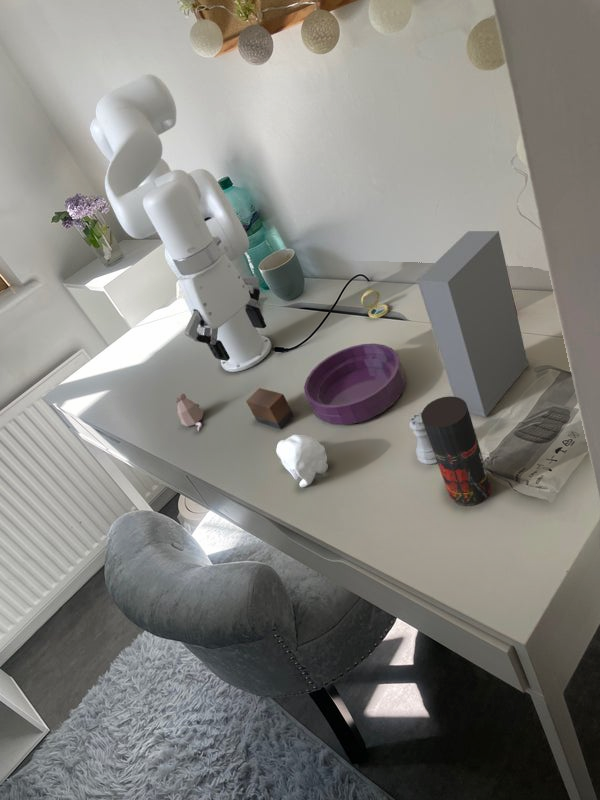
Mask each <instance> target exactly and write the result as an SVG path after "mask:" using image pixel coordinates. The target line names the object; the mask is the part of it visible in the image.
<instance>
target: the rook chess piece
mask: <svg viewBox="0 0 600 800" xmlns="http://www.w3.org/2000/svg"><path fill="white" fill-rule="evenodd" d="M421 415H422V411H417V414H416V413H412V416H410V417H409V423H408V426H409V428H410V429H411V430H413V431H412V433H413V435H414V436H415V437H416V441H417V442H416V449H415V454H416V458H417V460H418V461H419V462H420V463H422V464H425V465H434V464H438V463H437V460H436V457H435V455H434V452H433V449H432V446H431V443H430V441H429V438H428V435H427V432H426V430H425V427H424V424H423V421H422V417H421Z"/></svg>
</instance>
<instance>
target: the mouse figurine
mask: <svg viewBox="0 0 600 800" xmlns="http://www.w3.org/2000/svg"><path fill="white" fill-rule="evenodd" d="M174 402H175V403H177V417H178V418H179V420H180V422H181V425H183V426H185V427H192V426H194V425H195V426H197V432H200V429H201V428H202V427H203V425H202V423H201V421H202V419H203V417H204V411H203V409H202V408H201V407H200V403H199V404H198V403H195V402H194V401H192V400H191V399H189V398H187V395H186V394H185V393H183V392H182V393H181V394H180V395H179V396H175V397H174Z"/></svg>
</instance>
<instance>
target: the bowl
mask: <svg viewBox="0 0 600 800" xmlns="http://www.w3.org/2000/svg"><path fill="white" fill-rule="evenodd" d="M406 381H407V377H406V374H405V371H404V367H403V366H402V363H401V360H400V357H399V355H398V353H397V352H396V351H395V350H394V349H393V348H392V347H390V346H388V345H385V344H382V343H361V344H356V345H352V346H350V347H346V348H344V349H341V350H339V351H337V352H335V353H333V354H331V355H329V356H328V357H326V358H324V359H323V360H322V361H321V362H319V363H318V364H317V365H316V366H315V367H314V368H313V369H312V370H311V371H310V373H309V374H308V376H307V377H306V379H305V382H304V386H303V391H304V395H305V397H306V400H307V402H308V404H309V406H310V408H311V411H312V412H313V414H314V415H315V417H316V418H317V419H319V420H320V421H322V422H324V423H327V424H330V425H338V426H339V425H341V426H345V425H351V424H358V423H361V422H364V421H367V420H370V419H373V418H374V417H375V416H378V415H380V414H382V413H383V412H385V411H386V410H387V409H389V408H390V407H391V406H392V405H394V404H395V402H396V401H397V400H398V399H399V398H400V397H401V396H402V394H403V392H404V390H405V387H406Z"/></svg>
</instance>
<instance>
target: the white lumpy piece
mask: <svg viewBox="0 0 600 800" xmlns="http://www.w3.org/2000/svg"><path fill="white" fill-rule="evenodd" d="M275 451H276V455H277V456H278V458H279V459H280V461H279V464H280V465H281V464H282V466H283V467H284V468H285V470H286V471H288V472H289V473H290V475H291V476H292V478H294V480H295V481H297V480H298V479H299V478H300V479H301V480H300V481H299V487H300V488H306V487H309V486H310V485H311V484H312V483H313V481H314V480H315V478H316V474H324V473H326V472H327V470H328V468H329V465H328V463H327V461H328V457H327V453H326V448H325V447H324V445H323V444H321V443H320V442H318V440H317V439H315V438H314V437H312V436H310V435H304V434H292V435H290V436H288V437H287V438H286V439H281V440H280V441H278V443H277V446H276V449H275Z"/></svg>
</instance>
